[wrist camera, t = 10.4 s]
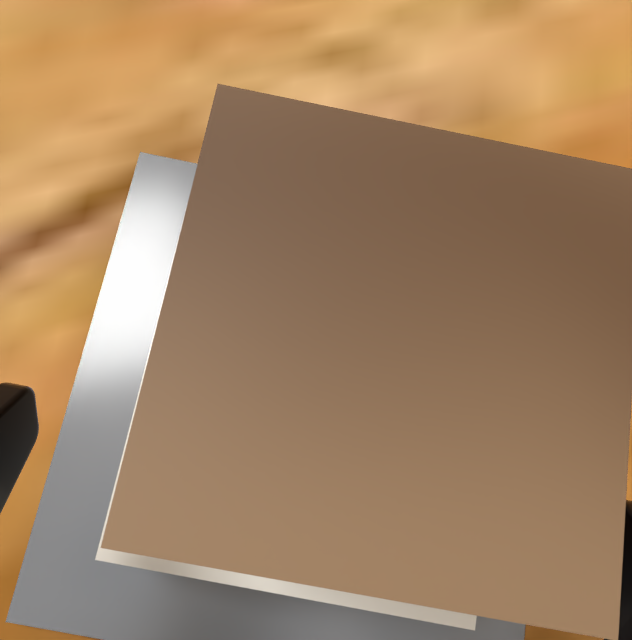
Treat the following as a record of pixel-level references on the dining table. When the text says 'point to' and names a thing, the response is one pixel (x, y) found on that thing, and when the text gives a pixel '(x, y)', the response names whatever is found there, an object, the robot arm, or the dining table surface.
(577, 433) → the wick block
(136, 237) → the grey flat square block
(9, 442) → the robot arm
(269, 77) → the dining table surface
